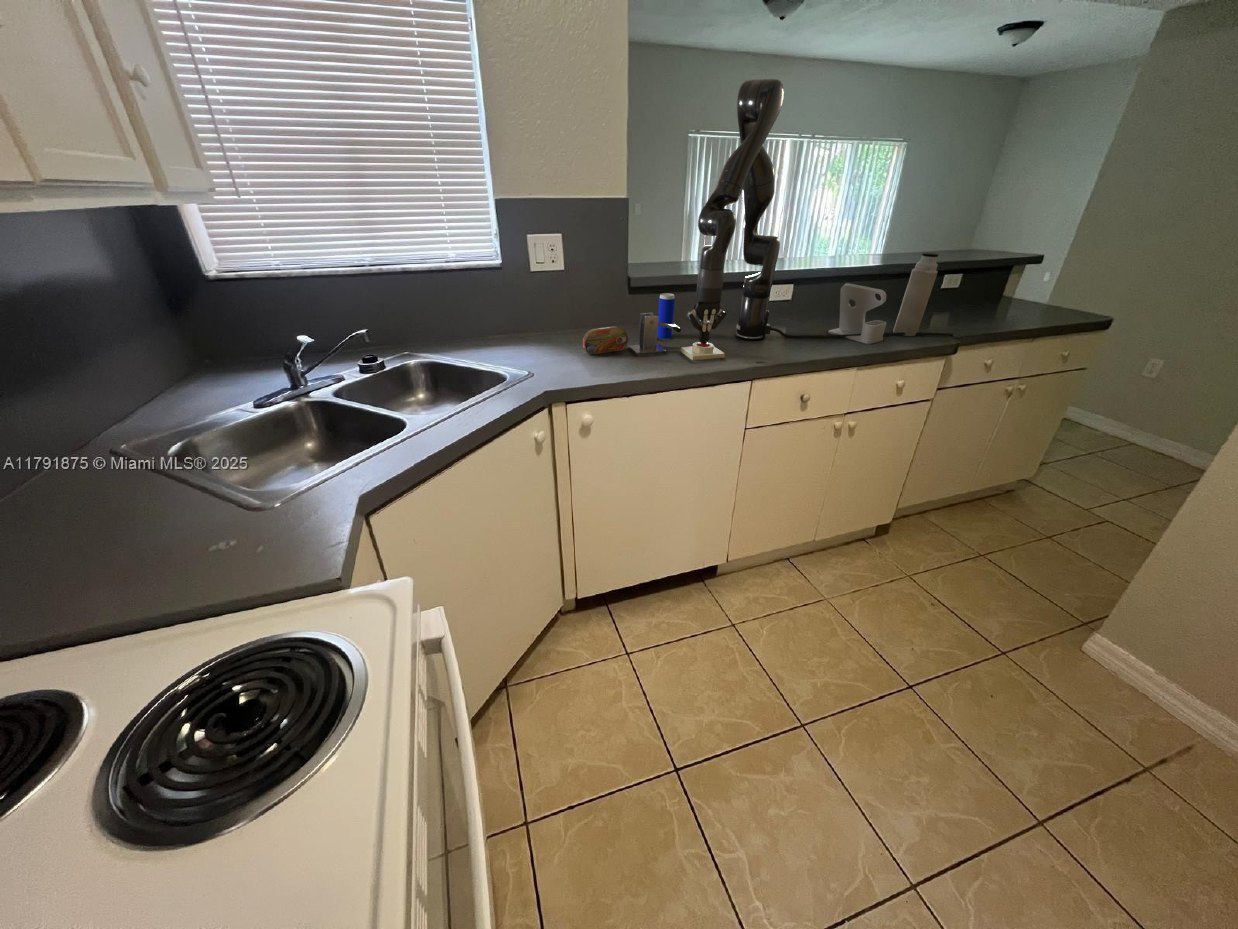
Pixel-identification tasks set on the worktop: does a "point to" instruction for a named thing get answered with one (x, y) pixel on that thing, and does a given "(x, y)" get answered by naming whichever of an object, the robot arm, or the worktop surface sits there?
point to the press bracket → (647, 335)
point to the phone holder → (860, 314)
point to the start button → (703, 344)
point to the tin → (605, 340)
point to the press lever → (668, 326)
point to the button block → (702, 352)
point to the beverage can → (666, 314)
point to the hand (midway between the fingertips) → (703, 342)
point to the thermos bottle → (917, 295)
